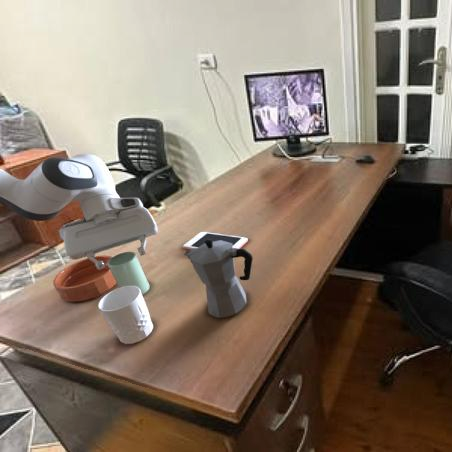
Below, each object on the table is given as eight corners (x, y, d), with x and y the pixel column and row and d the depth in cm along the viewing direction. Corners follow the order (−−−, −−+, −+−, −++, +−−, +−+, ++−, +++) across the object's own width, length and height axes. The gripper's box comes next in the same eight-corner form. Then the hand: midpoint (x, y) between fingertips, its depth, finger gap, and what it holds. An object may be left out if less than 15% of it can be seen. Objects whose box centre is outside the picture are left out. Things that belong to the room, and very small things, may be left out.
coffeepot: (192, 318, 80) (167, 252, 71) (210, 291, 88) (189, 229, 79) (257, 319, 77) (239, 252, 68) (269, 291, 85) (255, 228, 77)
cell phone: (202, 233, 114) (201, 231, 113) (248, 240, 108) (248, 237, 107) (183, 248, 107) (182, 245, 106) (231, 256, 101) (231, 253, 100)
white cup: (115, 352, 73) (95, 316, 68) (118, 327, 79) (100, 293, 74) (156, 337, 75) (139, 302, 70) (156, 315, 81) (141, 281, 77)
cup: (130, 302, 87) (114, 269, 82) (118, 293, 90) (102, 261, 85) (154, 287, 91) (141, 255, 86) (141, 280, 94) (127, 248, 89)
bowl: (76, 311, 85) (66, 295, 83) (53, 292, 93) (44, 277, 90) (132, 279, 95) (125, 264, 93) (107, 264, 103) (100, 250, 100)
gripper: (51, 221, 82) (69, 274, 80) (145, 196, 91) (163, 243, 89) (61, 230, 88) (78, 280, 85) (148, 206, 97) (166, 250, 94)
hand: (122, 261), depth 87 cm, fingers open, 8 cm apart
